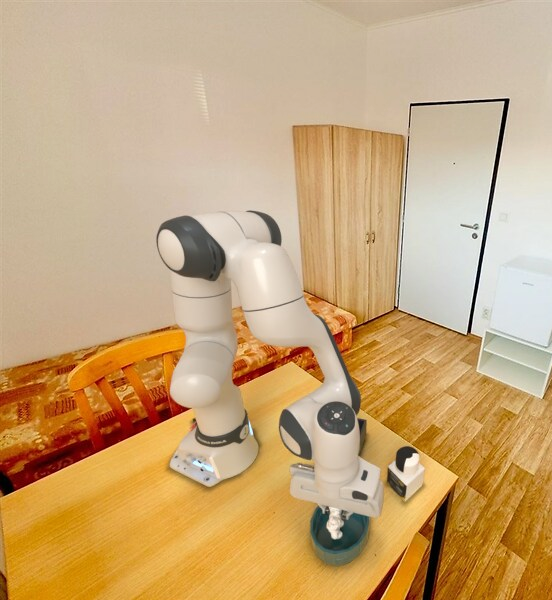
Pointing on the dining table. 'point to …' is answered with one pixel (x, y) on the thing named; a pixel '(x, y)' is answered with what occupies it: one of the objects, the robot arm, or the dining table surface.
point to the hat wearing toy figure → (335, 523)
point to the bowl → (344, 547)
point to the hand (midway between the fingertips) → (336, 513)
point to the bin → (362, 432)
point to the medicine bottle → (405, 473)
